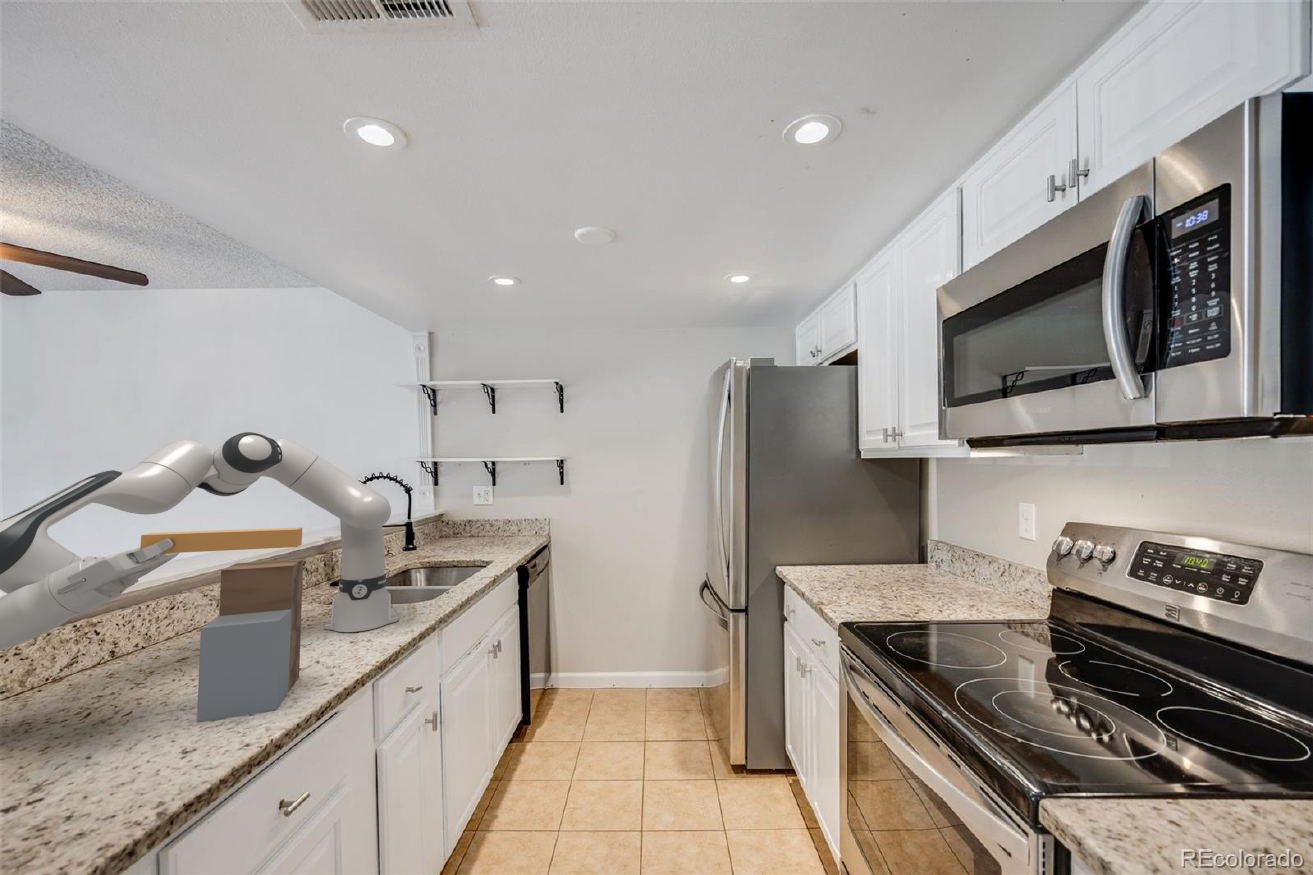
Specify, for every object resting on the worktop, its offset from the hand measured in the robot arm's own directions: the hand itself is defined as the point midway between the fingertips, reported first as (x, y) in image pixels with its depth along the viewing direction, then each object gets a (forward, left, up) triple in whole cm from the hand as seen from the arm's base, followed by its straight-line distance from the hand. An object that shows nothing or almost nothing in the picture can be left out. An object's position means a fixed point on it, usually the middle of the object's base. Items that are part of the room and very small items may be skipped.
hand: (179, 539), depth 95 cm
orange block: (0, +7, -2) cm, 8 cm away
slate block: (0, +11, -33) cm, 35 cm away
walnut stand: (-8, +11, -33) cm, 36 cm away
